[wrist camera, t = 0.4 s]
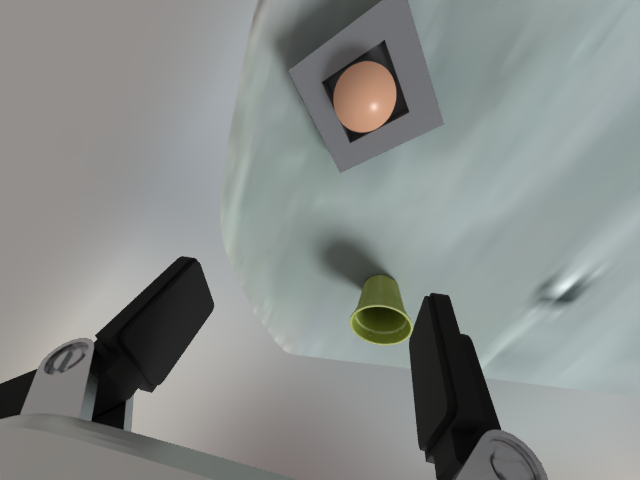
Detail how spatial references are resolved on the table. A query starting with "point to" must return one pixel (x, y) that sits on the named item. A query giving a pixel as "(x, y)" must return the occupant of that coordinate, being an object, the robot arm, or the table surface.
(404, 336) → the plant pot
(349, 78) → the push button
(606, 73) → the table surface
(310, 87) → the button box
